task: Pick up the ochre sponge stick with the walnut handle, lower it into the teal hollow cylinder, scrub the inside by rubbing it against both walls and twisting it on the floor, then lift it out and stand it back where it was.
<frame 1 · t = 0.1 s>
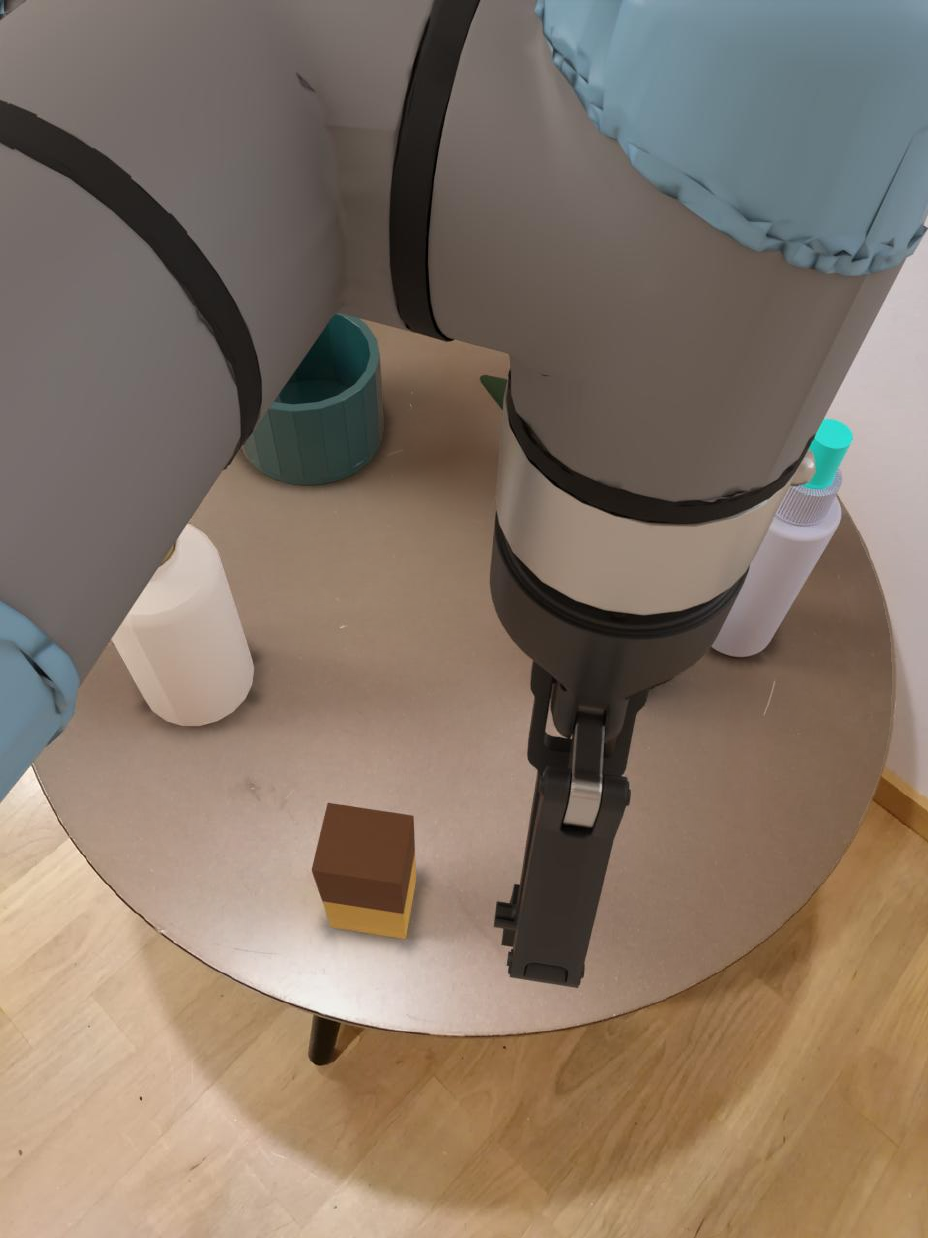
hand: (547, 797, 45), 21 cm above the table, tool pointing down, fingers open, 13 cm apart
white piece: (201, 683, 71), on the table
ornament: (628, 678, 72), on the table
teal hollow cylinder: (311, 430, 85), on the table
toy figurine: (606, 504, 82), on the table
perfume bottle: (581, 403, 88), on the table
spray bottle: (732, 628, 75), on the table
sponge: (374, 903, 62), on the table
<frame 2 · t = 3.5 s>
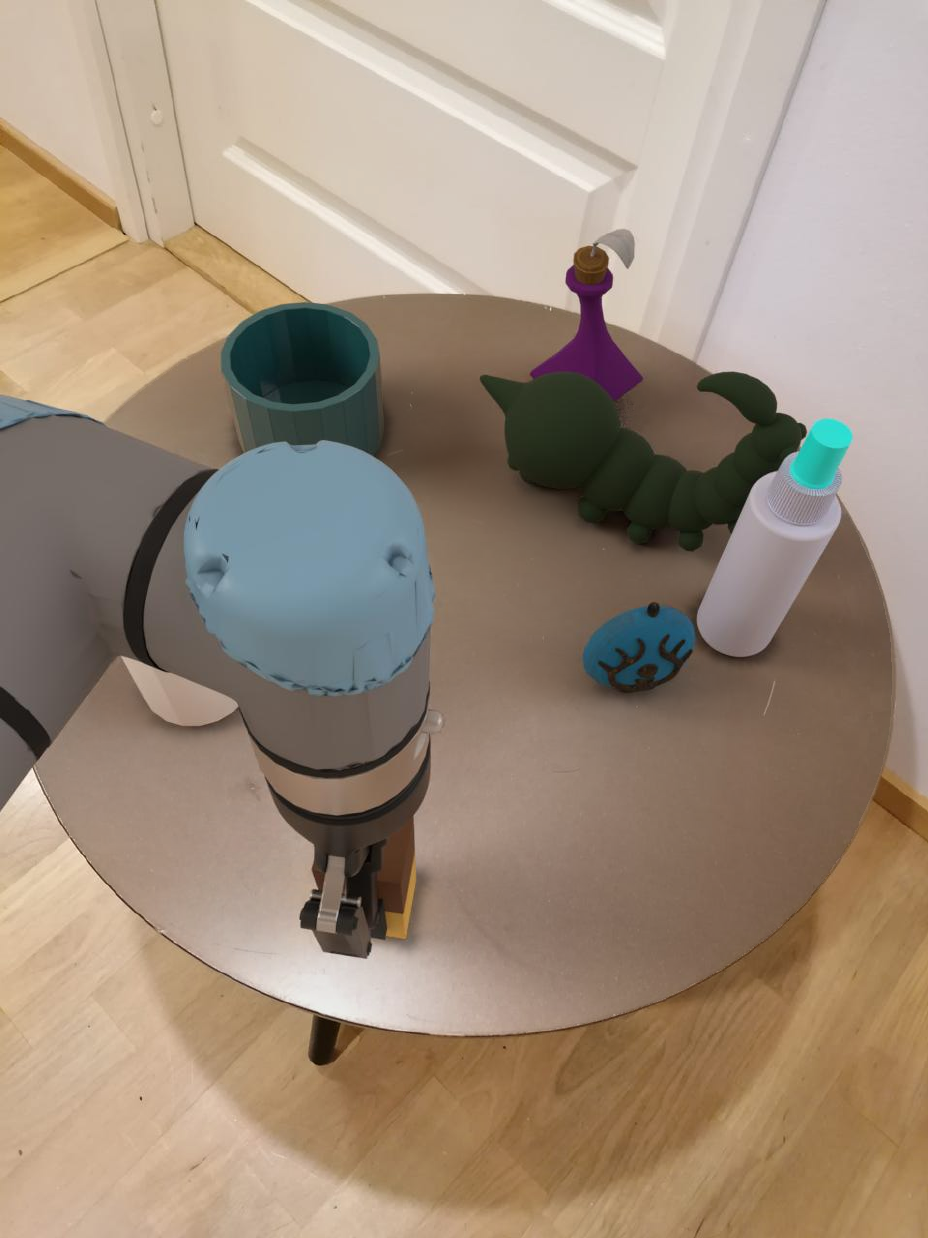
hand: (372, 893, 60), 2 cm above the table, tool pointing down, fingers closed on sponge, 4 cm apart
sponge: (374, 903, 62), on the table, touching gripper
everything else where it was.
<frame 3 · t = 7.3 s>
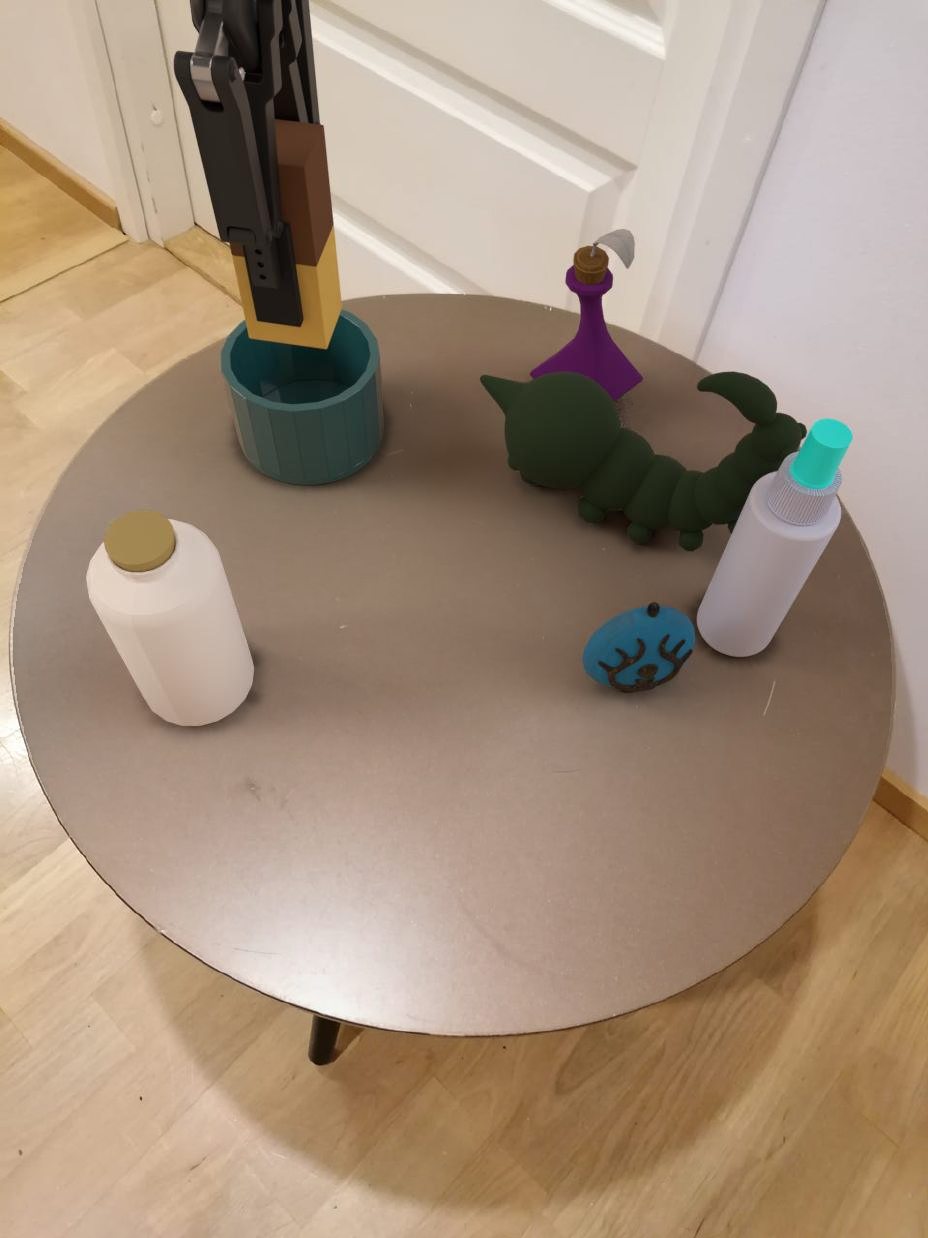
hand: (290, 294, 58), 25 cm above the table, tool pointing down, fingers closed on sponge, 4 cm apart
sponge: (296, 322, 59), point 23 cm above the table, touching gripper
everything else where it was.
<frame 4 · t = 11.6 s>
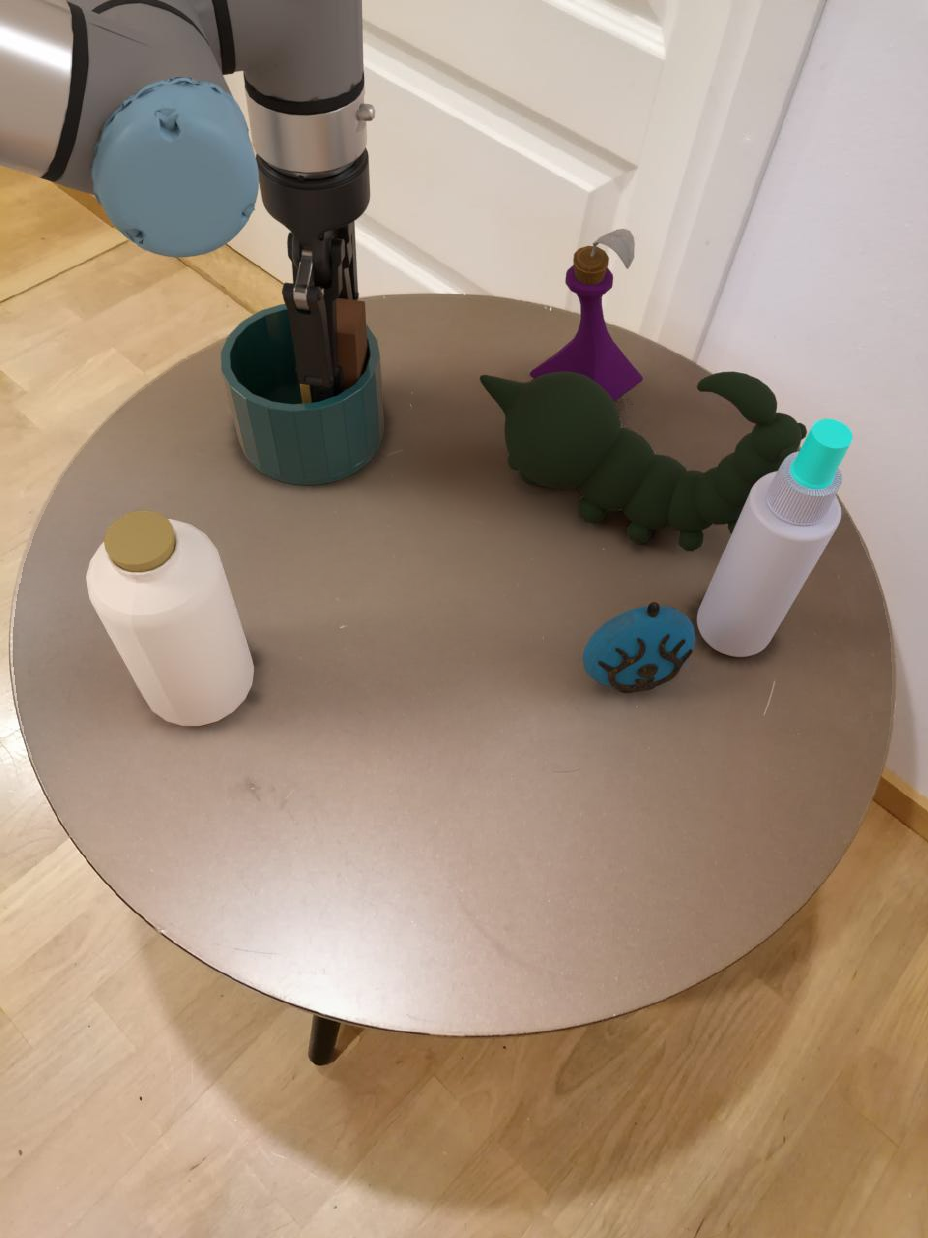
hand: (336, 404, 82), 4 cm above the table, tool pointing down, fingers closed on sponge, 4 cm apart
sponge: (339, 422, 84), point 1 cm above the table, touching gripper
everything else where it was.
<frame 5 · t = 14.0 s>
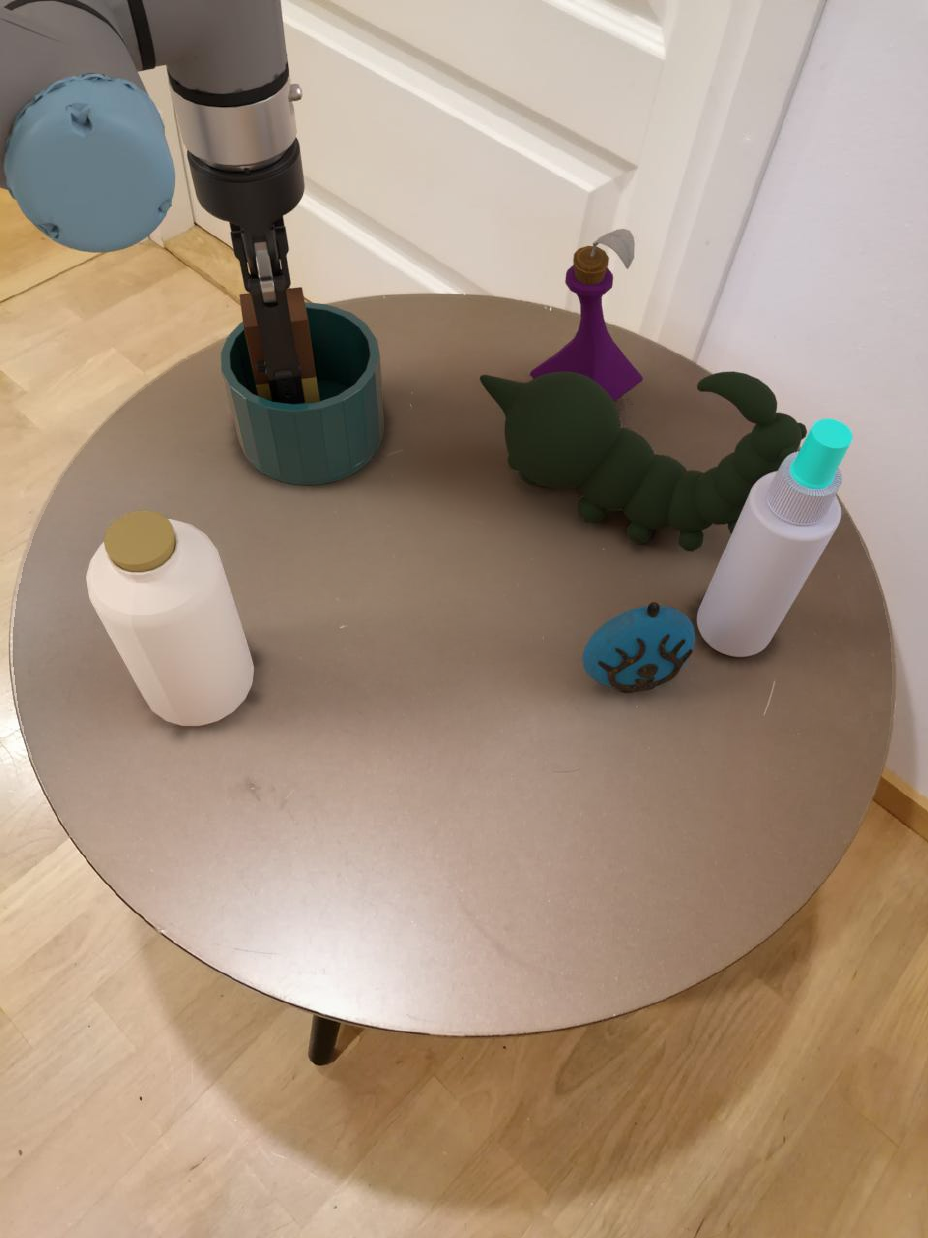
hand: (288, 398, 82), 4 cm above the table, tool pointing down, fingers closed on sponge, 4 cm apart
sponge: (292, 416, 84), point 1 cm above the table, touching gripper
everything else where it was.
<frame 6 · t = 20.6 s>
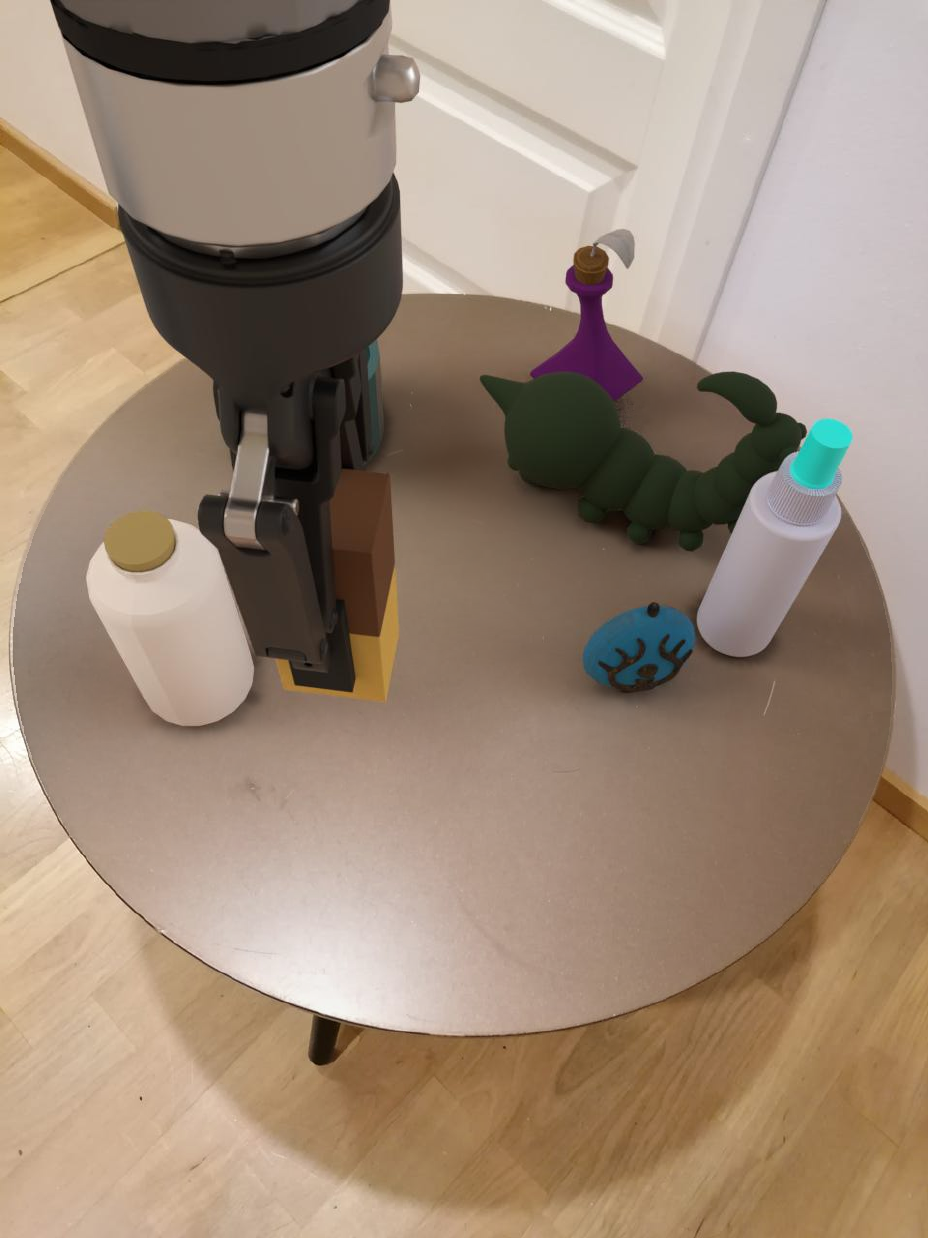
hand: (335, 638, 44), 25 cm above the table, tool pointing down, fingers closed on sponge, 4 cm apart
sponge: (342, 660, 46), point 23 cm above the table, touching gripper
everything else where it was.
when the fingers open (2 cm above the table, at t = 26.0 s): sponge stays where it is, on the table.
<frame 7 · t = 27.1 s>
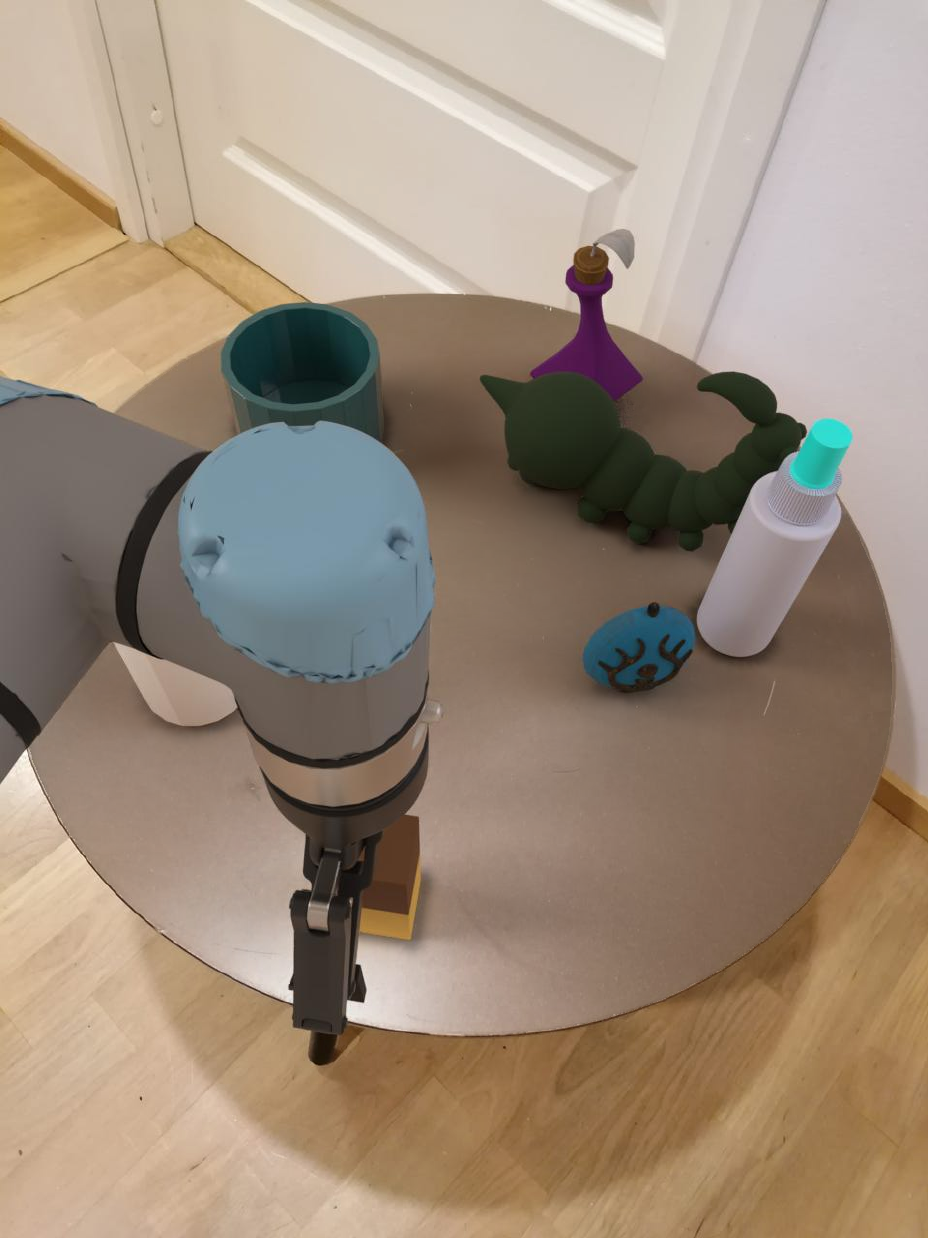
hand: (366, 878, 58), 5 cm above the table, tool pointing down, fingers open, 13 cm apart
sponge: (378, 904, 62), on the table
everything else where it was.
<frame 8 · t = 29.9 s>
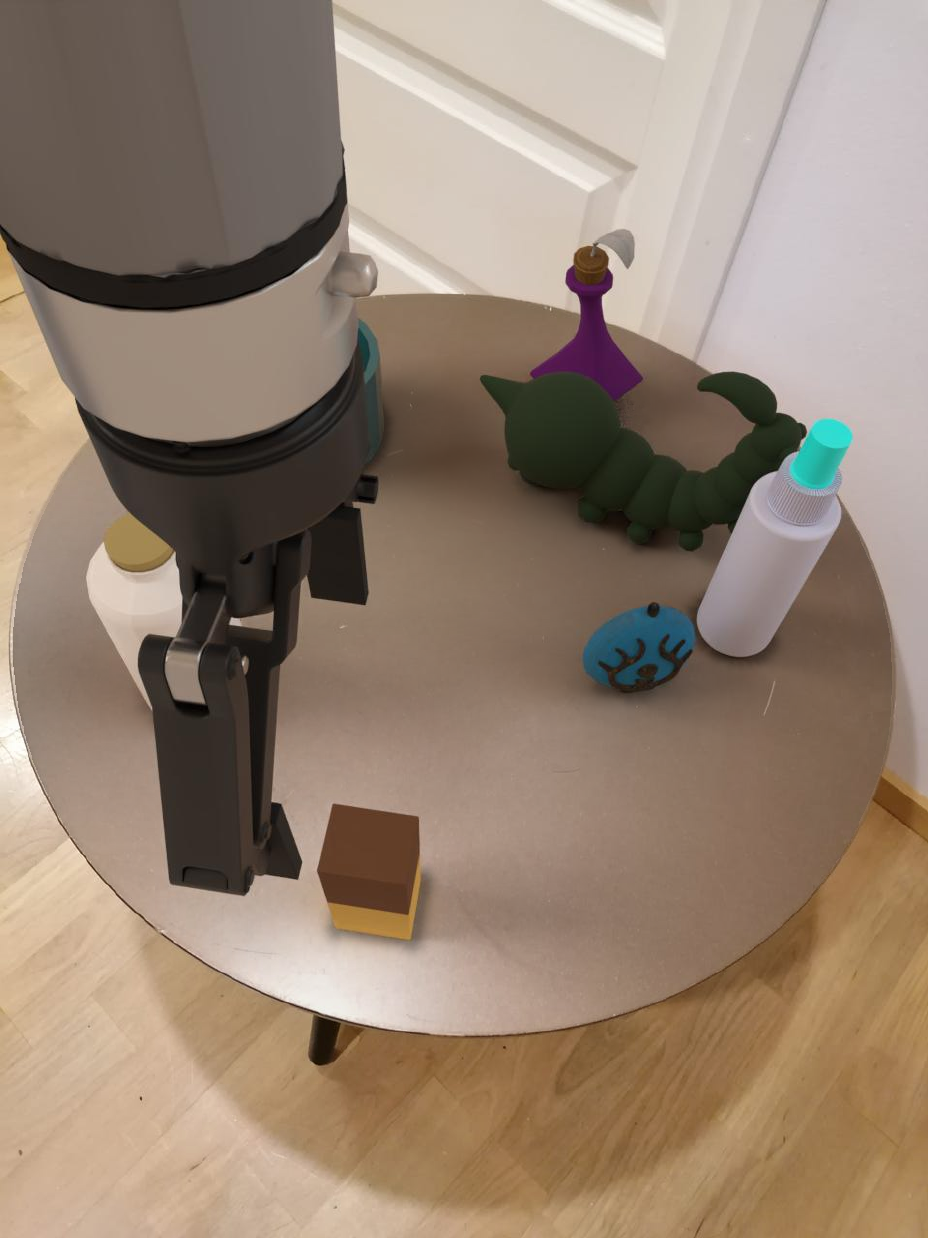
hand: (307, 719, 42), 25 cm above the table, tool pointing down, fingers open, 13 cm apart
nothing on the table moved.
at the end: sponge tilted 0°; the gripper is holding nothing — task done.
